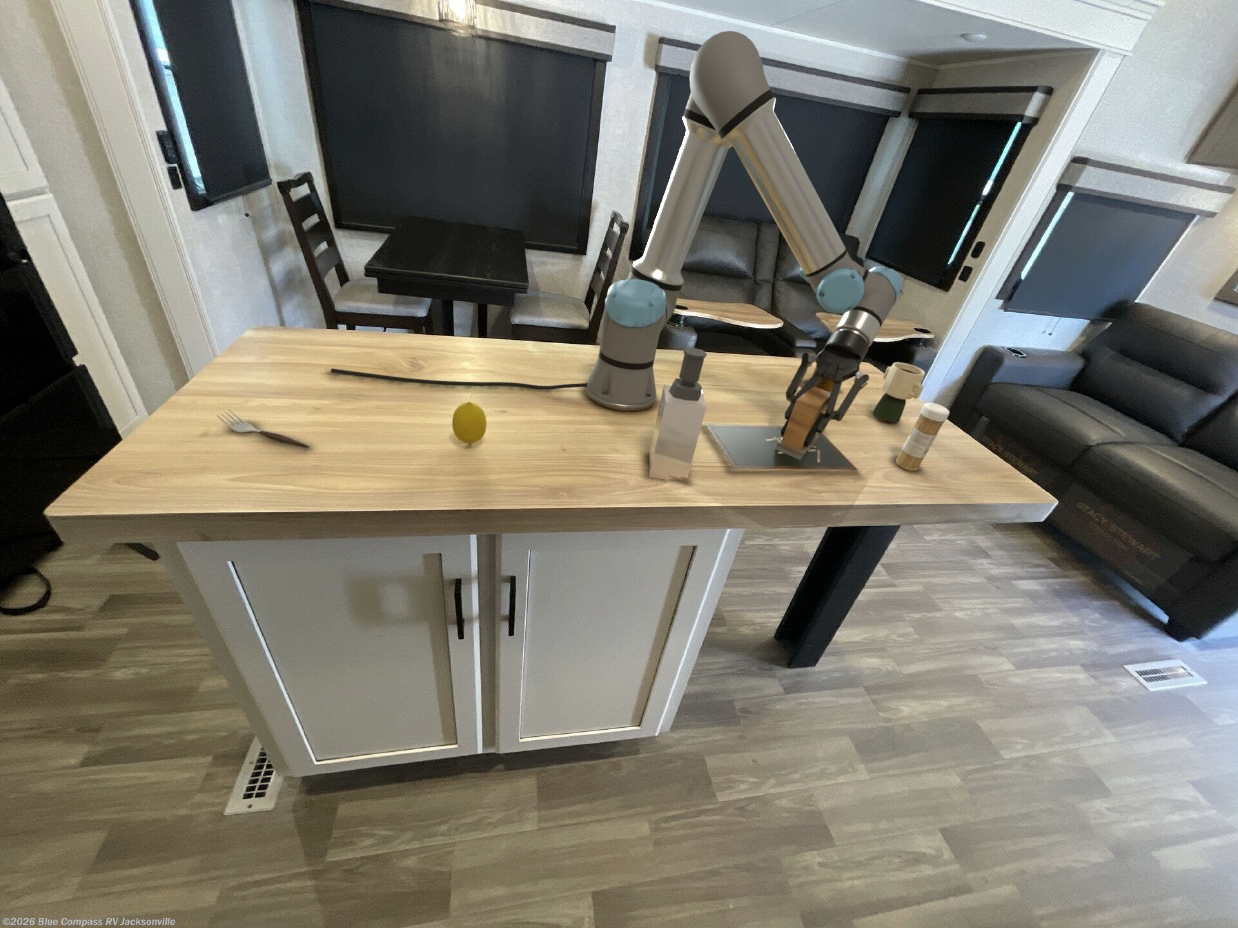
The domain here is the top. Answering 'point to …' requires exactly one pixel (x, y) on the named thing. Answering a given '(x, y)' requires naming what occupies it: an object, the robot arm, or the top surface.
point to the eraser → (803, 422)
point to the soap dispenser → (679, 420)
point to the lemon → (469, 422)
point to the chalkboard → (772, 449)
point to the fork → (248, 428)
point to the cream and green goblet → (898, 390)
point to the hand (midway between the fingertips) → (794, 439)
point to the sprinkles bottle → (922, 436)
